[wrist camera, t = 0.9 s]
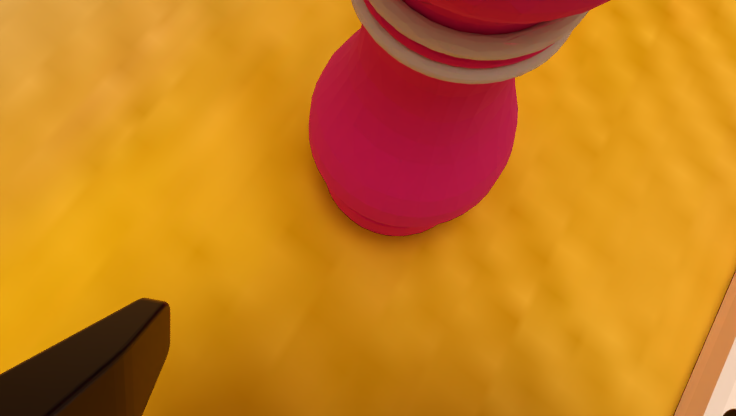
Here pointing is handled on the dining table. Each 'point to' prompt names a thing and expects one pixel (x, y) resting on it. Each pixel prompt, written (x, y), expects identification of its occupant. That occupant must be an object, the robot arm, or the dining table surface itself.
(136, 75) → the dining table surface
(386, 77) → the pepper mill
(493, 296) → the dining table surface
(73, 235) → the dining table surface
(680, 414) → the dish
